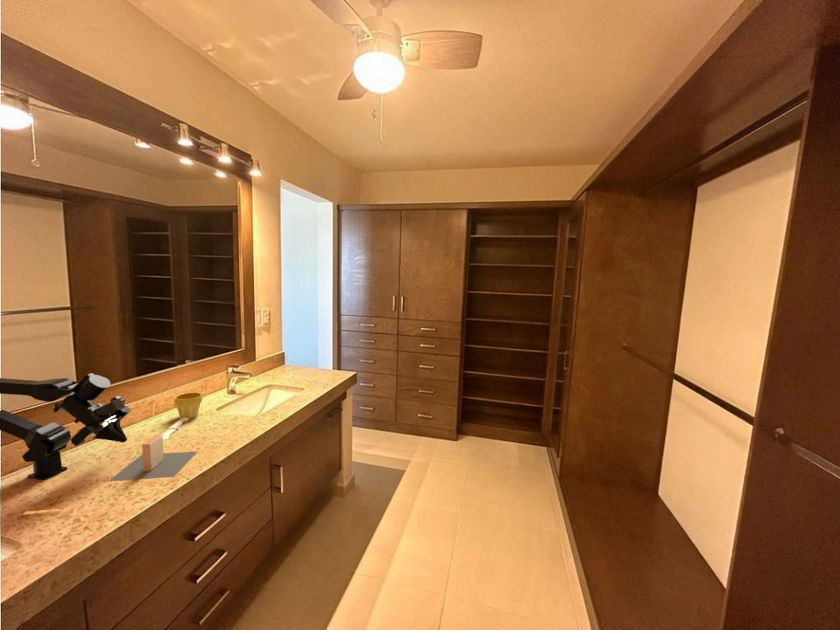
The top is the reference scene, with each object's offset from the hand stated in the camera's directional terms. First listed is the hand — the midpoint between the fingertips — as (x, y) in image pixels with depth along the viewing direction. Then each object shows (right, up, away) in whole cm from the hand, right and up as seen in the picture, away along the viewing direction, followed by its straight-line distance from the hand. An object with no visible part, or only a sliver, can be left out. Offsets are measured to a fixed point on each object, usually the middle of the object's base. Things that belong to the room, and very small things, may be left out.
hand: (125, 441), depth 110 cm
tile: (+7, -9, +2) cm, 12 cm away
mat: (+8, -9, +2) cm, 13 cm away
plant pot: (-9, -5, +43) cm, 44 cm away
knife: (-3, -8, +25) cm, 26 cm away
